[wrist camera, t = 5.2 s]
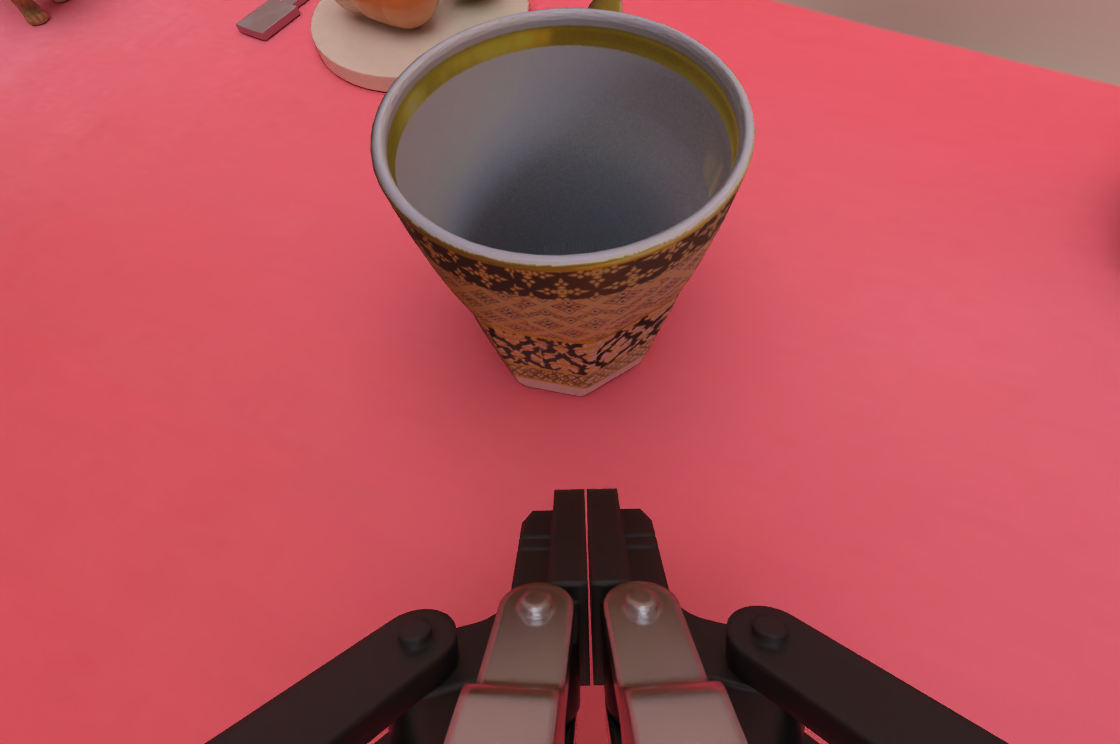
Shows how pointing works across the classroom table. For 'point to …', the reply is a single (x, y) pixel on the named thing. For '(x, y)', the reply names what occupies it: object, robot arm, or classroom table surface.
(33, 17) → the lion figurine
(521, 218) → the ceramic cup
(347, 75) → the lunch plate
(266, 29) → the metal spatula
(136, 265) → the classroom table surface
